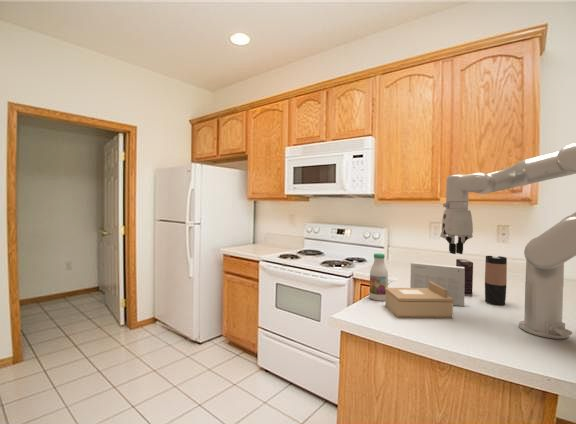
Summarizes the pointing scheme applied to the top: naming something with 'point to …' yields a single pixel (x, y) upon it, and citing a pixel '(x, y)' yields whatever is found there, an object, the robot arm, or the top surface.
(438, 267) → the skincare box
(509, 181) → the robot arm
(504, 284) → the travel mug
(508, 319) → the top surface
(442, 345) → the top surface
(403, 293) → the lid
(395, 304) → the mailer box
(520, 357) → the top surface
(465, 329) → the top surface
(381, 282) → the milk bottle
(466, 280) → the supplement box
